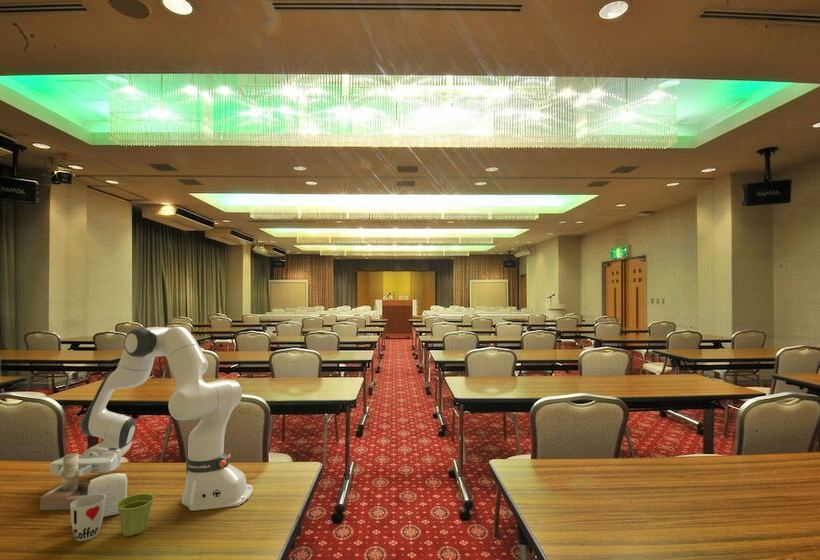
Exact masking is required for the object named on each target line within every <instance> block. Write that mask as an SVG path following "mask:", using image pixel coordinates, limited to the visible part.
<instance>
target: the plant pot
mask: <svg viewBox="0 0 820 560" xmlns="http://www.w3.org/2000/svg"><path fill="white" fill-rule="evenodd" d="M154 500H155V496H154V495H153V494H152V493H144V492H143V493H137V494H133V495H130V496H127V497H126V498H124V499H122V500H120V501H119V502H118V503H117V505H116V507H117V508H118V511H119V513H120V514H119V520H120V528H121V530H120V531H121V534H122V536H125V537H131V536H134V535H139V534H142V533H143V532H145V531H146V530H147V527H148V521H149V515H150V511H151V507H152V504H153V502H154Z"/></svg>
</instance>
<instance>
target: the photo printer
mask: <svg viewBox="0 0 820 560" xmlns="http://www.w3.org/2000/svg"><path fill="white" fill-rule="evenodd" d="M89 480H90V484H89V486H88V495H93V494H103V495H105V496H106V499H105V508H104V514H103V518H105V517H110V516H115V515H120V513H119V511H118V508H117V507H116V505H117V503H118V502H119V501H120V500H122V499H124V498H126V497H128V477H127V474H126V473H121V472H120V473H119V472H117V473H108V474H104V475H100V476H97V477H95V478H92V479H89Z"/></svg>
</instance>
